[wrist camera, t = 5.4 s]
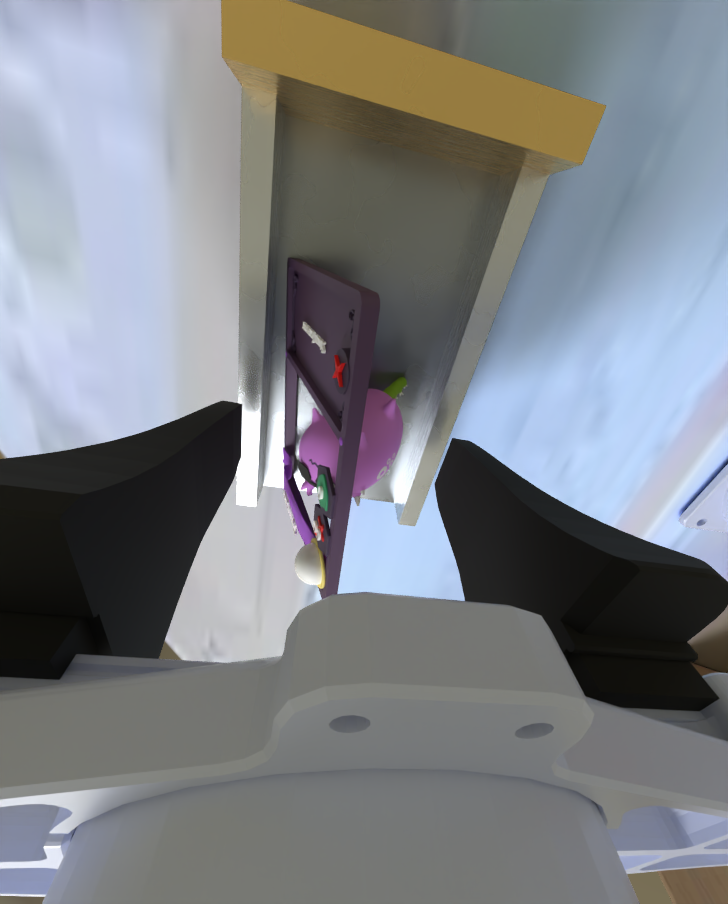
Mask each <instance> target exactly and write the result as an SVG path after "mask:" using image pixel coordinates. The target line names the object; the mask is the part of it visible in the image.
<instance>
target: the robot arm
mask: <svg viewBox="0 0 728 904" xmlns="http://www.w3.org/2000/svg"><path fill="white" fill-rule="evenodd" d="M241 453H242V404H240V403H234V402H228V401H220V402H217V403H215V404H212V405H210V406H208V407H205V408H203V409H201V410H198V411H196V412H194V413H192V414H189V415H187V416H185V417H182V418H180V419H178V420H175V421H172V422H170V423H167V424H164V425H162V426H159V427H156V428H154V429H151V430H148V431H145V432H142V433H139V434H136V435H132V436H128V437H125V438H121V439H118V440H114V441H110V442H105V443H100V444H96V445H91V446H86V447H81V448H76V449H71V450H66V451H59V452H53V453H46V454H39V455H31V456H23V457H15V458H6V459H0V896H43V897H45V898H44V900H43V903H42V904H640V903H639V901H638V899H637V897H636V894H635V892H634V890H633V887H632V885H631V883H630V881H629V878H628V876H627V874H631V873H641V872H652V871H664V870H676V869H688V868H700V867H715V866H728V673H710V674H707V675H703V676H701V675H700V674H699V672H698V671H697V670H696V669H695V667H694V666H693V665H692V664H691V662H694V661H696V660H697V659H698V655H697V653H696V652H695V651H694V650H693V649H692V647H691V646H690V645H689V644H688V643H687V641H689V640H690V639H691V638H692V637H694V636H695V635H696V634H697V633H699V632H700V631H701V630H702V629H704V628H705V627H706V626H707V625H709V624H710V623H711V622H712V621H714V620H715V619H716V618H717V617H718V616H719V615H720V614H721V613H722V612H723V611H724V610H725V608H726V607H727V605H728V582H727V581H726V580H725V579H724V578H723V577H722V576H721V575H720V574H718V573H717V572H716V571H715V570H714V569H713V568H712V567H711V566H710V565H708V564H707V563H705V562H703V561H702V560H700V559H697V558H694V557H691V556H688V555H685V554H683V553H680V552H677V551H674V550H671V549H668V548H665V547H662V546H659V545H656V544H653V543H651V542H648V541H645V540H643V539H640V538H638V537H635V536H633V535H630V534H628V533H625V532H623V531H620V530H618V529H616V528H613V527H611V526H609V525H606V524H604V523H602V522H600V521H598V520H596V519H594V518H592V517H590V516H587V515H585V514H583V513H581V512H579V511H577V510H575V509H573V508H571V507H570V506H568V505H566V504H564V503H562V502H561V501H559V500H557V499H555V498H554V497H552V496H550V495H548V494H547V493H545V492H543V491H542V490H540V489H539V488H537V487H536V486H534V485H533V484H531V483H530V482H528V481H527V480H525V479H523V478H522V477H521V476H519V475H518V474H516V473H515V472H513V471H512V470H511V469H509V468H508V467H507V466H505V465H504V464H502V463H501V462H500V461H498V460H497V459H496V458H494V457H493V456H491V455H490V454H489V453H487V452H486V451H485V450H483V449H482V448H480V447H479V446H477V445H476V444H474V443H472V442H470V441H467V440H461V439H455V438H452V441H451V443H450V446H449V448H448V451H447V454H446V456H445V459H444V461H443V464H442V466H441V469H440V472H439V474H438V477H437V479H436V482H435V490H436V497H437V502H438V508H439V511H440V514H441V517H442V520H443V523H444V527H445V529H446V532H447V535H448V538H449V541H450V544H451V547H452V550H453V553H454V556H455V559H456V563H457V566H458V570H459V573H460V578H461V583H462V587H463V592H464V597H465V601H457V600H446V599H435V598H425V597H414V596H403V595H392V594H381V593H371V592H359V593H346V594H333V595H330V596H328V597H326V598H324V599H322V600H320V601H317V602H315V603H313V604H311V605H309V606H307V607H305V608H303V609H302V610H300V611H299V613H298V614H297V616H296V617H295V619H294V620H293V622H292V623H291V625H290V627H289V628H288V630H287V635H286V642H285V648H284V652H283V655H282V656H279V657H271V658H263V659H255V660H247V661H239V662H231V663H219V662H202V661H186V660H168V659H159V656H160V653H161V650H162V647H163V643H164V640H165V638H166V635H167V632H168V629H169V626H170V623H171V620H172V617H173V615H174V612H175V609H176V606H177V603H178V600H179V598H180V595H181V592H182V590H183V587H184V584H185V581H186V579H187V576H188V573H189V571H190V568H191V566H192V563H193V561H194V558H195V556H196V553H197V550H198V548H199V545H200V543H201V541H202V539H203V537H204V535H205V533H206V531H207V529H208V527H209V525H210V523H211V521H212V519H213V518H214V516H215V514H216V512H217V510H218V508H219V506H220V505H221V503H222V501H223V499H224V497H225V495H226V493H227V491H228V489H229V487H230V486H231V484H232V482H233V479H234V477H235V474H236V471H237V468H238V465H239V462H240V459H241ZM679 522H680V523H681V524H682V525H683V526H685V527H688V528H695V529H702V530H710V531H717V532H724V533H728V464H727V465H726V466H725V467H724V468H723V470H722V471H721V472H720V473H719V474H718V475H717V476H716V477H715V478H714V479H713V480H712V482H711V483H710V484H709V485H708V486H707V487H706V488H705V489H704V490H703V491H702V493H701V494H700V495H699V496H698V497H697V498H696V499H695V500H694V501H693V502H692V503H691V505H690V506H689V507H688V508H687V509H686V510H685V511H684V512H683V513H682V514H681V516H680V517H679Z"/></svg>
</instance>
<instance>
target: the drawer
mask: <svg viewBox="0 0 728 904" xmlns="http://www.w3.org/2000/svg"><path fill="white" fill-rule="evenodd" d="M221 17H222V58H223V59H224V61H225V62H226V64H227V65H228V66H229V68H230V69H231V71H232V72H233V74H234V75H235V77H236V78H237V79H238V81H239V82H240V84H241V85H242V110H241V196H240V282H239V369H238V403H240V404H242V453H241V459H240V462H239V465H238V468H237V504H238V505H246V506H255V507H256V505H257V502H258V499H259V496H260V493H261V490H262V487H263V485H264V486H271V487H279V488H284V463H283V462H282V460H283V459H284V456H283V447H284V424H285V360H286V355H285V353H286V296H287V260H288V257H290V258H298V259H302V260H304V261H306V262H308V263H311V264H313V265H315V266H318V267H320V268H322V269H324V270H327V271H329V272H331V273H334V274H336V275H338V276H340V277H343V278H345V279H347V280H349V281H352V282H354V283H356V284H359V285H361V286H363V287H365V288H368V289H370V290H372V291H374V292H377V293H378V295H379V297H380V312H379V319H378V325H377V332H376V339H375V345H374V352H373V359H372V365H371V372H370V378H369V385H368V389H377V390H381V391H384V390H385V388H387V387H389V386H390V385H391V384H392V383H393V382H394V381H396V380H397V379H398V378H400V377H403V378H405V379H406V380H407V386H406V387H405V388H403V389H402V393H403V394H404V395H402V394H401V396H400V395H399V394H398V395H397V398H398V399H396V404H397V405H398V407H399V409H400V412H401V415H402V421H403V434H402V440H401V444H400V447H399V450H398V453H397V455H396V457H395V459H394V461H393V463H392V465H391V466H390V468H389V469H388V471H387V472H386V473H385V474H384V475H383V477H382V478H381V479H379V480H378V481H377V482H376V483H375V484H373V485H372V486H370V487H369V488H367V489H365V495H364V496H363V495H362V493H361V496H360V498H362V499H370V500H378V501H385V502H393V503H395V508H396V513H397V519H398V524H401V525H409V526H415V525H416V523H417V520H418V517H419V515H420V512H421V509H422V507H423V504H424V502H425V499H426V496H427V494H428V491H429V489H430V486H431V483H432V481H433V478H434V475H435V473H436V470H437V468H438V465H439V462H440V460H441V457H442V455H443V452H444V449H445V447H446V444H447V441H448V439H449V436H450V434H451V431H452V428H453V426H454V423H455V420H456V418H457V415H458V413H459V410H460V407H461V405H462V402H463V400H464V397H465V394H466V392H467V389H468V386H469V384H470V381H471V379H472V376H473V373H474V371H475V368H476V366H477V363H478V360H479V358H480V355H481V352H482V350H483V347H484V345H485V342H486V339H487V337H488V334H489V332H490V329H491V326H492V324H493V321H494V318H495V316H496V313H497V311H498V308H499V305H500V303H501V300H502V297H503V295H504V292H505V290H506V287H507V284H508V282H509V279H510V277H511V274H512V271H513V269H514V266H515V263H516V261H517V258H518V256H519V253H520V250H521V248H522V245H523V243H524V240H525V237H526V235H527V232H528V229H529V227H530V224H531V222H532V219H533V216H534V214H535V211H536V209H537V206H538V203H539V201H540V198H541V195H542V193H543V190H544V188H545V185H546V182H547V180H548V177H549V175H550V174H554V173H557V172H560V171H563V170H566V169H569V168H573V167H576V166H579V165H582V163H583V161H584V159H585V156H586V154H587V151H588V149H589V146H590V144H591V142H592V139H593V137H594V134H595V132H596V130H597V127H598V125H599V122H600V120H601V118H602V115H603V113H604V110H605V108H606V105H603V104H600V103H597V102H593V101H590V100H587V99H584V98H581V97H578V96H575V95H572V94H569V93H566V92H563V91H560V90H557V89H554V88H551V87H548V86H545V85H542V84H539V83H536V82H533V81H530V80H527V79H524V78H521V77H518V76H515V75H512V74H509V73H506V72H503V71H500V70H497V69H494V68H490V67H487V66H484V65H481V64H478V63H475V62H472V61H469V60H466V59H463V58H460V57H457V56H454V55H451V54H448V53H445V52H442V51H439V50H436V49H433V48H430V47H427V46H424V45H421V44H418V43H415V42H412V41H409V40H406V39H403V38H400V37H397V36H394V35H390V34H387V33H384V32H381V31H378V30H375V29H372V28H369V27H366V26H363V25H360V24H357V23H354V22H351V21H348V20H345V19H342V18H339V17H336V16H333V15H330V14H327V13H324V12H321V11H318V10H315V9H312V8H309V7H306V6H303V5H300V4H297V3H294V2H290V1H287V0H221ZM313 408H316V409H317V410H318V411H319V413H320V414H321V415H323V414H322V413H321V411H320V409H319V408H318V406H317V405H316V403H315V401H314V400H313V398H312V397H311V395H310V393H309V392H308V390H307V388H306V387H305V385H304V384H303V382H302V380H301V379H300V377H299V375H298V374H297V392H296V421H295V450H294V478H295V480H296V483H297V486H298V489H299V490H301V486H302V484H303V483H304V481H305V479H304V478H303V477H302V476H301V474H300V471H299V468H298V465H299V462H300V458H299V445H300V441H301V438H302V436H303V434H304V433H305V431H306V430H307V429H308V427H309V426H310V425H311V423H312V411H313ZM302 491H307V488H306V489H304V490H302ZM312 492H317V488H316V487H315V488H314V489H313V490H312Z"/></svg>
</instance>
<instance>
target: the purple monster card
mask: <svg viewBox="0 0 728 904" xmlns="http://www.w3.org/2000/svg"><path fill="white" fill-rule="evenodd" d="M379 312H380V297H379V295H378V293H377V292H374V291H372V290H370V289H368V288H365V287H363V286H361V285H359V284H356V283H354V282H352V281H349V280H347V279H345V278H343V277H340V276H338V275H336V274H334V273H331V272H329V271H327V270H324V269H322V268H320V267H318V266H315V265H313V264H311V263H308V262H306V261H304V260H302V259H298V258H290V257H288V260H287V296H286V353H285V355H286V360H285V424H284V447H283V456H284V459H283V460H282V462H283V463H284V490H283V495H284V499H285V503H286V505H287V509H288V510H289V511H288V512H289V513H288V514H289V515H290V518H291V521H292V525H293V526H294V529H293V531H294V534H295V535H297V528H298V531H299V533H300V535H301V537H302V539H303V541H304V544H305V546H304V547H302V548H301V549H300V551H299V552H298V554H297V556H296V558H295V571H296V573H297V575H298V577H299V578H300V579H301V580H302V581H303V582H305V583H307V584H310V585H317V586H318V588H319V591H320V594H321V597H322V599H324V598H326V597H328V596H330V595H333V594H337V591H338V585H339V578H340V571H341V565H342V558H343V551H344V545H345V538H346V531H347V525H348V518H349V512H350V505H351V498H352V497H354V498H355V501H356V504H357V506H359V503H360V496H361V493H362V495H363V496H364V495H365V489H367V488H369V487H370V486H372V485H373V484H375V483H376V482H377V481H378V480H379V479H381V478H382V477H383V475H384V474H385V473H386V472H387V471H388V469H389V468H390V466H391V465H392V463H393V461H394V459H395V457H396V455H397V453H398V450H399V447H400V444H401V440H402V434H403V421H402V415H401V412H400V409H399V407H398V405H397V404H396V399H398V398H397V395H398V394H399V395H400V396H401V394H402V395H404V394H403V393H402V389H403V388H405V387H406V386H407V380H406V379H405V378H403V377H400V378H398V379H397V380H396V381H394V382H393V383H392V384H391V385H390V386H389V387H387V388H385V390H384V391H381V390H377V389H368V385H369V378H370V372H371V365H372V359H373V352H374V345H375V339H376V332H377V325H378V319H379ZM297 374H298V375H299V377H300V379H301V380H302V382H303V384H304V385H305V387H306V388H307V390H308V392H309V393H310V395H311V397H312V398H313V400H314V401H315V403H316V405H317V406H318V408H319V409H320V411H321V413H322V414H323V415H321V414H320V413H319V411H318V410H317V409H316V408H313V411H312V423H311V425H310V426H309V427H308V429H307V430H306V431H305V433H304V434H303V436H302V438H301V441H300V445H299V458H300V462H299V465H298V468H299V471H300V474H301V476H302V477H303V478H304V479H305V481H304V483H303V484H302V486H301V490H304V489H306V488H307V495H308V496H310V495H312V490H313V489H314V488H315V487H316V488H317V493H318V498H319V503H320V505H319V504H315V511H314V522H313V527H312V525H311V522H310V519H309V516H308V514H307V511H306V508H305V505H304V503H303V500H302V497H301V494H300V492H299V489H298V486H297V483H296V480H295V478H294V450H295V421H296V392H297ZM327 517H328V518H329V519H331V524H330V528H329V523H328V519H327ZM313 529H314V530H313ZM315 535H316V536H315ZM326 556H327V557H326Z"/></svg>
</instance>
